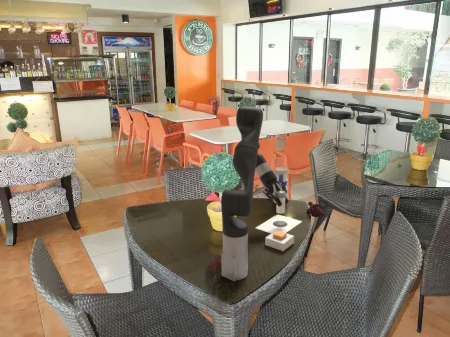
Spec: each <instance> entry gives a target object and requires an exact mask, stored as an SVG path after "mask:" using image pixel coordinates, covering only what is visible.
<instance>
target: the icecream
mask: <svg viewBox="0 0 450 337" xmlns="http://www.w3.org/2000/svg"><path fill="white" fill-rule="evenodd" d="M307 205H308V206H309V207H308V208H306V213H308V214H309V215H310V216H311V217H313V218H319V217H322V216H323V217H325V216H326V214H325V213H324V209H323V207H322V205H320V204H318V203H313V201H308V203H307Z"/></svg>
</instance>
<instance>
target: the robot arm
mask: <svg viewBox="0 0 450 337" xmlns="http://www.w3.org/2000/svg"><path fill="white" fill-rule="evenodd" d="M263 120H264V111H263V109H262V108H260V107H257V106H246V105H243V106H239V107H238V109H237V110H236V117H235V124H236V126H237V129H238V131H239V133H240V135H241V136H240V137H241V140H240V141H239V142H238V143H237V144H236V146H235V148H234V150H233V151H234V152H233V155H232V165H233V167H234V168H233V169H234V171H236V174H237V175H238V176H239V178H240V180H241V182H242V184H243V187H244V189H243V190H242V189H224V190H223V191H222V193H221V196H220V197H221V198H220V209H221V210H220V211H221V225H222V252H221V256H220V257H221V259H220V260H221V263H220V264H221V277H224V278H226V279H228V280H230V281H233V282H236V281H241V280H243V279H245V278H246V277H247V276H248V275H249V274H248V273H249V272H248V271H249V270H248V269H249V264H248V261H249V260H248V259H249V256H248V255H249V250H248V249H249V226H248V224H247V223H246V222H245V221H243V220H241V219H239V218H237V217H248V216H250V215H251V213H252V209H253V199H254V197H253V196H254V185H255V183H254V182H255V173H256V176H257V177H258V179H259V181H260V182H261V183H262V185H263V186H264V187H265V188H264V189H263V190H262V193H263V194H264V195H265V196H266V197H267V198H268V199H269V200H270V201H274V200H275V202H276V203H275V205H276V206H277V205H278V206H279V207H280V206H281V205H282V203H281V201H280V199H279V198H278V196H277V191H279V190H280V191H285V192H286V193H287V190H286V187H285V183H284V182H283V183H279V182H278V181H277V177H276V175H275V173H274V170H273V169H272V167H271V166H270V164H269V163H268V162H267V160H266V158H265V156H264V155H263V154H262V153H259V149H260V148H261V144H260V137H261V130H262V125H263V122H264V121H263ZM274 195H275V196H274ZM287 204H289V198H288V199H287V197H285V205H287Z"/></svg>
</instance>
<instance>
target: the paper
mask: <svg viewBox="0 0 450 337" xmlns="http://www.w3.org/2000/svg"><path fill="white" fill-rule="evenodd" d="M302 222H303V221H302V220H300V219H299V220H298V219H296V218H295V219H294V218H291V217H289V216H284V215H281V214H279V213H277V214H276V215H274V216H272V217H271V218H269V219H268V220H266V221H264V222H262V223H261V224H259V225H258V226H256V227H255V229H256V230H259V231H261V232H263V233H264V232H265V233H267V234H269V235H270V234H271V233H273V232H274V231H276V230H277V231H281V232H284V233H287V234H288V232H290V231H292V230H293V229H295V228H296V227H297V226H298V225H300V224H302Z"/></svg>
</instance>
